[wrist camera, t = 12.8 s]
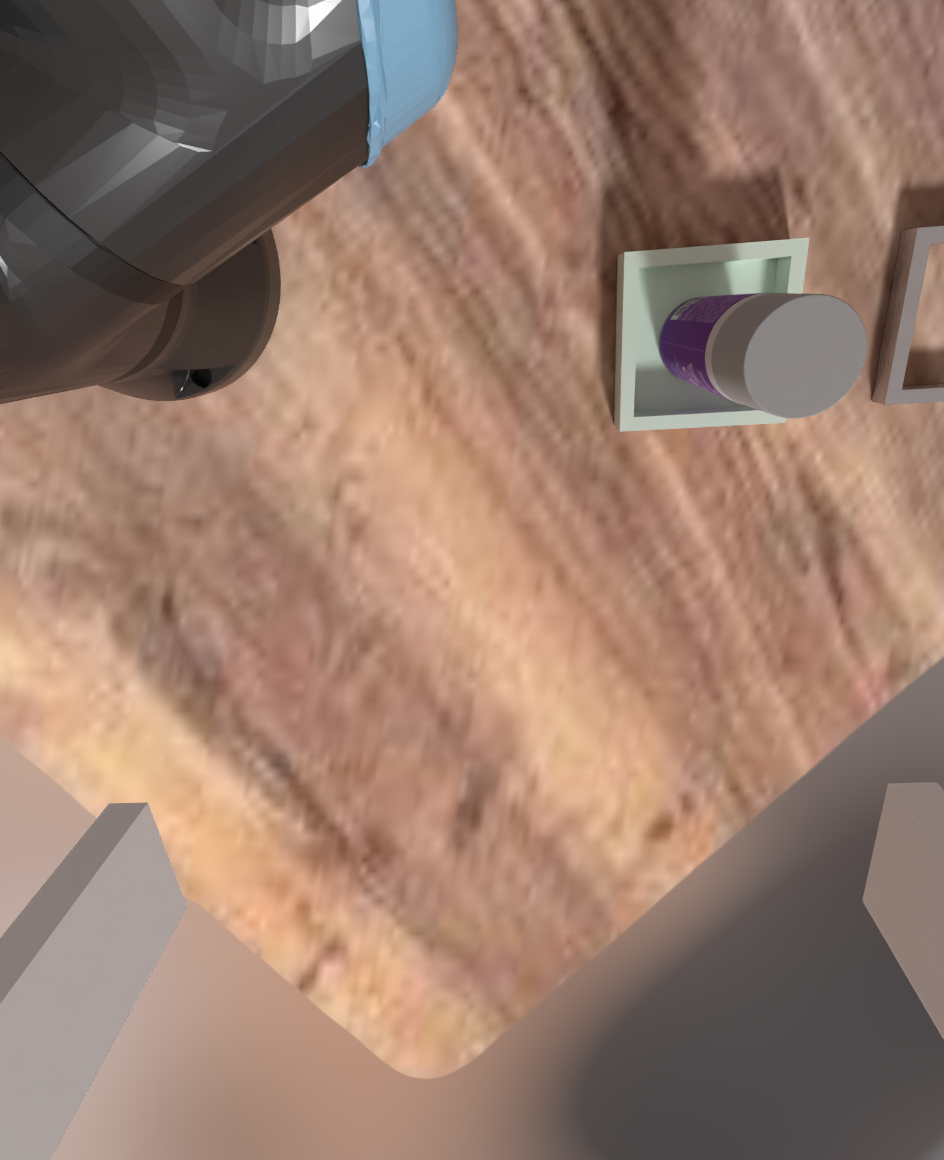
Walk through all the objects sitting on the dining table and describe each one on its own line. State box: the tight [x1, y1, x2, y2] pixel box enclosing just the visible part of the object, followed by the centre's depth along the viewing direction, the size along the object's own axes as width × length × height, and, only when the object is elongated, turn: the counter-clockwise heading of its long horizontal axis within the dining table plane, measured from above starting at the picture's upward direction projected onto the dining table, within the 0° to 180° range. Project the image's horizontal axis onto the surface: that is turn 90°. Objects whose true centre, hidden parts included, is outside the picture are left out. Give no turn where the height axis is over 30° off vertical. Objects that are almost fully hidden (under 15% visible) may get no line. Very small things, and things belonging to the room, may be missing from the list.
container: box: [658, 293, 867, 419], centre depth 30 cm, size 5×5×15 cm
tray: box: [614, 238, 809, 432], centre depth 37 cm, size 10×10×2 cm
